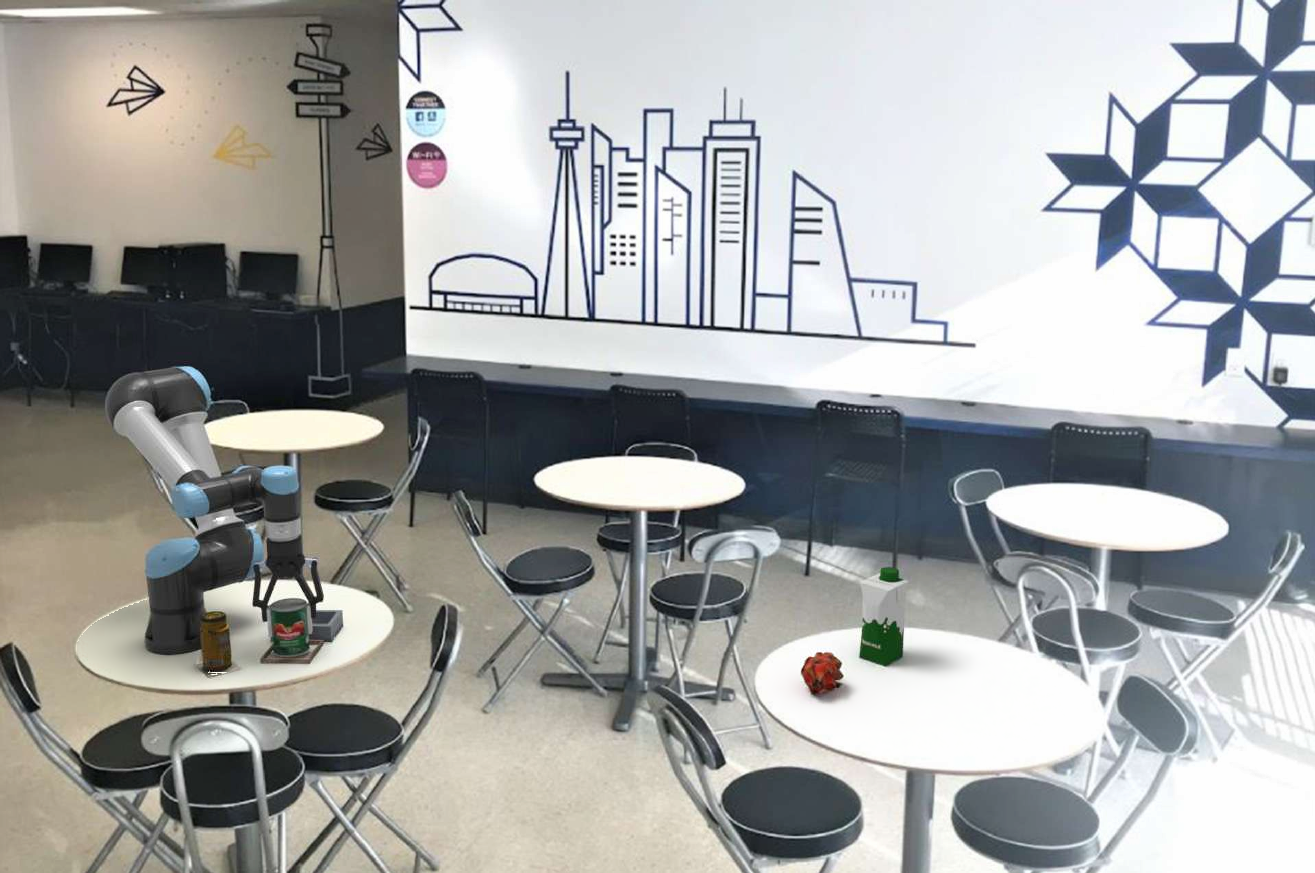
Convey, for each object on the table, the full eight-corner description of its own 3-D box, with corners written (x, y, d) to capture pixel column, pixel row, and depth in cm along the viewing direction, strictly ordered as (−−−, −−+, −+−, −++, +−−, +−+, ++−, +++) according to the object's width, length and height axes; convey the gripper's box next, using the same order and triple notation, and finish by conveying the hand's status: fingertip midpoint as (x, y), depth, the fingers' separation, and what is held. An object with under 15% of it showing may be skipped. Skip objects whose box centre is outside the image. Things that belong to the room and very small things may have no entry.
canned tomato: (281, 660, 270) (277, 613, 267) (267, 649, 276) (264, 603, 273) (315, 651, 274) (312, 605, 272) (301, 640, 280) (298, 595, 278)
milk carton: (908, 656, 274) (912, 572, 269) (886, 669, 267) (890, 582, 262) (875, 646, 279) (878, 562, 275) (852, 657, 273) (856, 573, 268)
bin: (271, 642, 282) (269, 625, 281) (284, 625, 292) (283, 609, 291) (331, 642, 282) (330, 626, 281) (343, 625, 292) (342, 610, 291)
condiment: (227, 657, 274) (223, 606, 271) (242, 669, 268) (237, 617, 265) (195, 665, 270) (190, 614, 267) (208, 678, 263) (203, 626, 260)
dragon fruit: (830, 683, 264) (819, 715, 253) (798, 659, 264) (787, 690, 253) (854, 659, 260) (844, 690, 249) (821, 634, 260) (810, 664, 249)
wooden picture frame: (260, 663, 271) (260, 659, 270) (276, 643, 281) (276, 639, 281) (309, 663, 270) (309, 659, 270) (324, 643, 281) (323, 639, 281)
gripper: (232, 544, 264) (240, 643, 269) (331, 538, 268) (337, 635, 273) (236, 533, 271) (244, 630, 276) (333, 528, 275) (338, 623, 280)
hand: (290, 632), depth 275 cm, fingers closed on canned tomato, 8 cm apart
